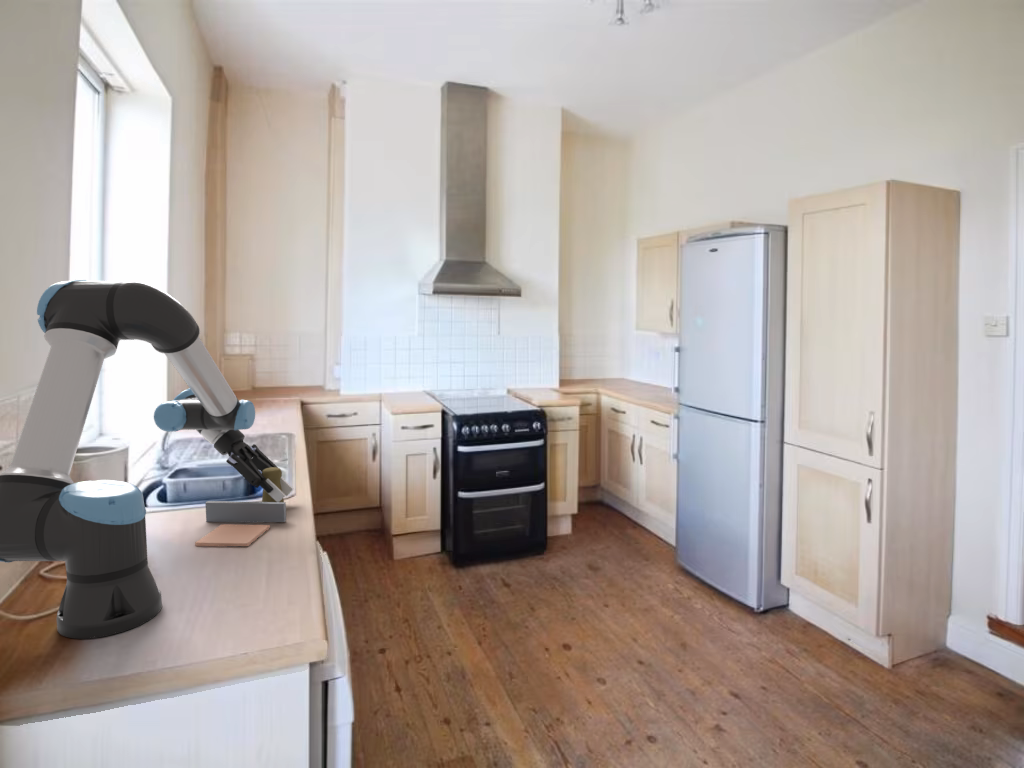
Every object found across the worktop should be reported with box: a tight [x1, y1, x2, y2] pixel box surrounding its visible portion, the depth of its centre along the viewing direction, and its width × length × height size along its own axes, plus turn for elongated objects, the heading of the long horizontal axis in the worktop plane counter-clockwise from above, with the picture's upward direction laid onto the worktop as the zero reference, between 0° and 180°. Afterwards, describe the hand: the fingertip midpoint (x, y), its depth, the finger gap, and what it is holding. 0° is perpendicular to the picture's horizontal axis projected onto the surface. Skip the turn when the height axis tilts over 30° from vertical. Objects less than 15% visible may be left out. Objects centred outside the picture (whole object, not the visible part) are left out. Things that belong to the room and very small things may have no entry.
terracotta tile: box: [194, 523, 271, 547], centre depth 141 cm, size 12×12×1 cm
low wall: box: [204, 500, 287, 523], centre depth 152 cm, size 1×20×5 cm, turn 89°
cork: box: [261, 466, 285, 502], centre depth 163 cm, size 6×6×11 cm
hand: (285, 495), depth 163 cm, fingers closed on cork, 5 cm apart
